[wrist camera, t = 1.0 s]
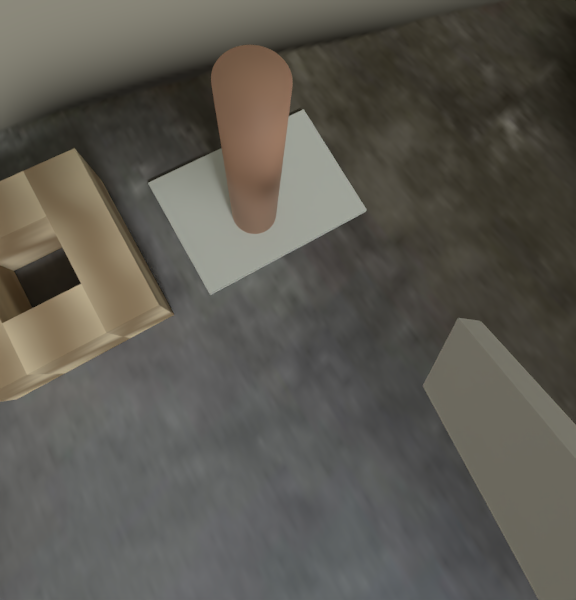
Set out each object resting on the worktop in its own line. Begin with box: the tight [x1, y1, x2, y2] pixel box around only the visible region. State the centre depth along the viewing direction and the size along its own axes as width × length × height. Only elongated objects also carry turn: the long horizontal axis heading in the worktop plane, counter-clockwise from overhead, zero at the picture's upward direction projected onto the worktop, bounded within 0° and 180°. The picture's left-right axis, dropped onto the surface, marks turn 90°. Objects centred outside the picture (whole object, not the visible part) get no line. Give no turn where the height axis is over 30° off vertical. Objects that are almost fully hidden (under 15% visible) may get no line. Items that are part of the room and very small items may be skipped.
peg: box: [211, 45, 293, 234], centre depth 23 cm, size 3×3×14 cm
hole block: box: [0, 148, 174, 402], centre depth 26 cm, size 12×12×4 cm
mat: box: [148, 109, 366, 295], centre depth 30 cm, size 14×10×1 cm
